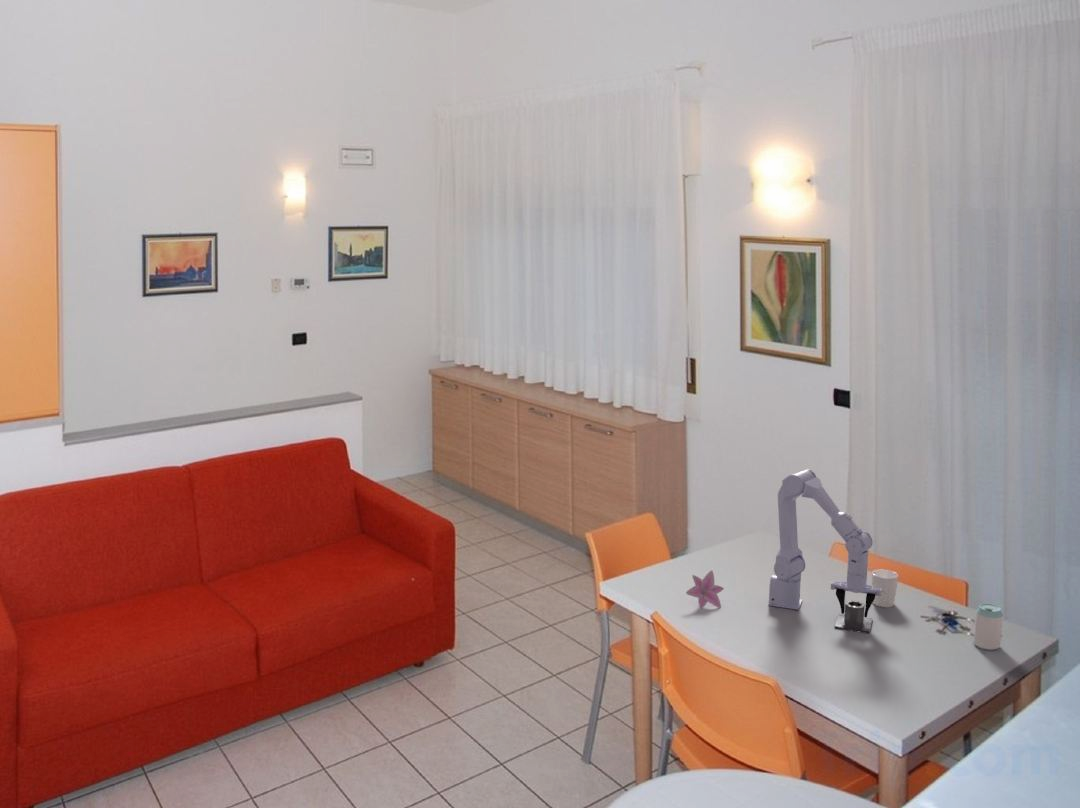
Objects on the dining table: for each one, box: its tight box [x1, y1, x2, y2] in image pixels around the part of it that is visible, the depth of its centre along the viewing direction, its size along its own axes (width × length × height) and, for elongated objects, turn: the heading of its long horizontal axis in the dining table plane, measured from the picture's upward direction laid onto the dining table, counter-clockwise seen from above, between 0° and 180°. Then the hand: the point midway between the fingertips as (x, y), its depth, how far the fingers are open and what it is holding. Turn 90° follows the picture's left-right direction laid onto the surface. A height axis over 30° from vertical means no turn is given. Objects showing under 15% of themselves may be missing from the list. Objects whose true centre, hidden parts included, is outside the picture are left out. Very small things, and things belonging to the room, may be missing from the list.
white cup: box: [871, 568, 899, 608], centre depth 321 cm, size 8×8×10 cm
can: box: [972, 603, 1004, 651], centre depth 290 cm, size 7×7×12 cm
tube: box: [844, 599, 866, 627], centre depth 305 cm, size 5×5×6 cm
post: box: [834, 605, 873, 634], centre depth 306 cm, size 10×10×6 cm
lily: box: [685, 570, 725, 610], centre depth 321 cm, size 12×12×10 cm
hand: (854, 614), depth 306 cm, fingers open, 6 cm apart
